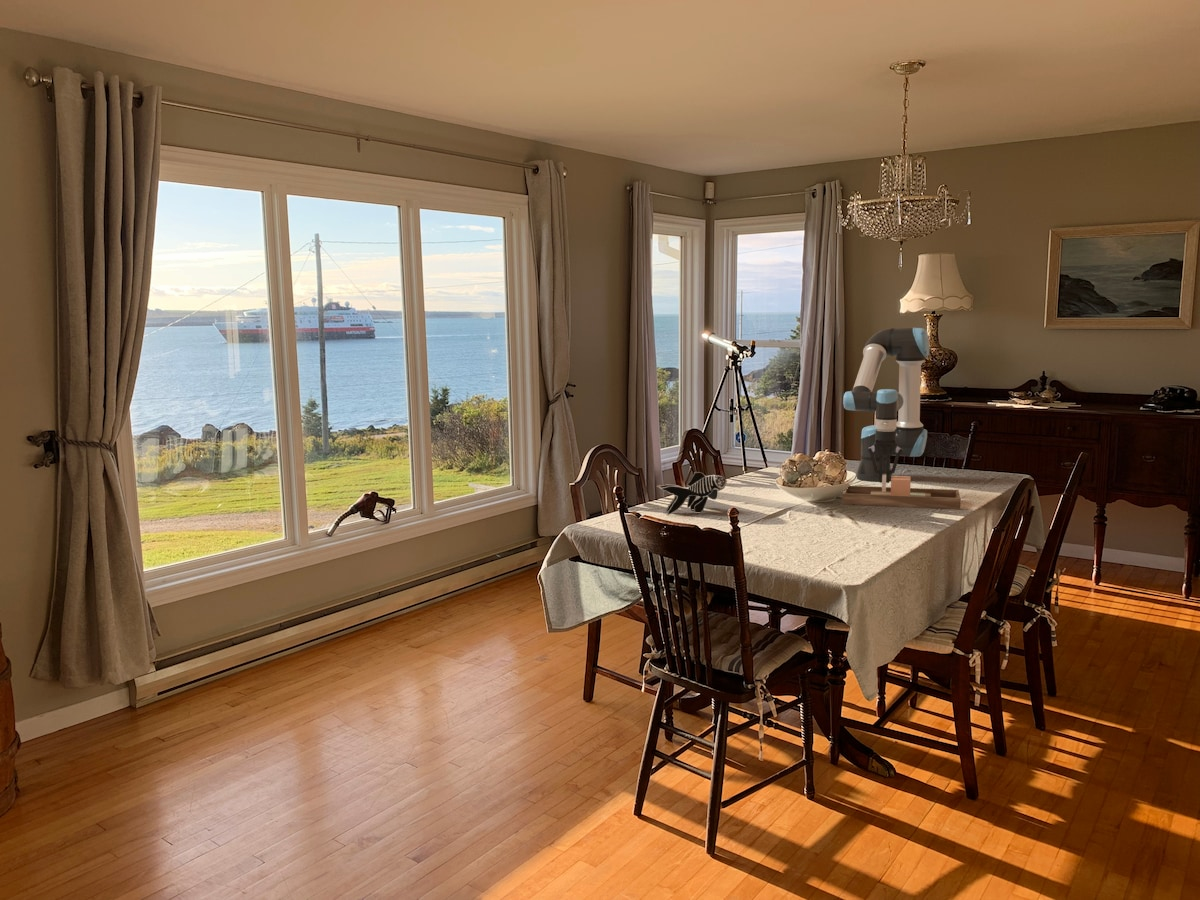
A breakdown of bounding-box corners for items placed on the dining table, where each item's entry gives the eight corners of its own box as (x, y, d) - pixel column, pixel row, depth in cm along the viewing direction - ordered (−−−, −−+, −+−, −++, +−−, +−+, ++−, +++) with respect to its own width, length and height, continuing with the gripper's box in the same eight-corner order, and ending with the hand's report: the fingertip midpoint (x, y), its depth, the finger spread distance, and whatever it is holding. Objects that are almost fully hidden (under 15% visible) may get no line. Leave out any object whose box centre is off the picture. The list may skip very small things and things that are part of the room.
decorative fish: (738, 505, 332) (730, 467, 329) (671, 525, 327) (662, 486, 324) (724, 497, 347) (716, 460, 344) (659, 516, 342) (651, 478, 339)
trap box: (844, 495, 359) (845, 485, 358) (958, 500, 345) (958, 489, 344) (842, 504, 344) (842, 493, 343) (960, 509, 330) (960, 498, 330)
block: (890, 493, 348) (891, 475, 347) (910, 494, 346) (910, 476, 345) (890, 497, 342) (891, 479, 340) (910, 498, 339) (910, 479, 338)
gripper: (867, 430, 340) (865, 492, 344) (903, 431, 336) (901, 493, 340) (868, 428, 347) (866, 488, 351) (904, 429, 343) (901, 489, 347)
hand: (883, 490), depth 345 cm, fingers closed
